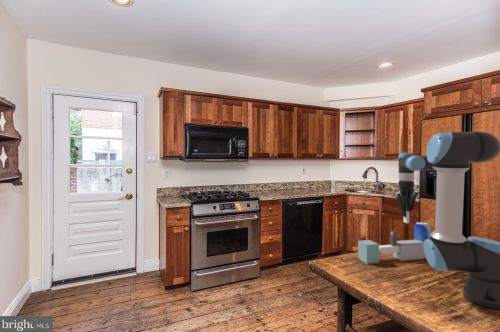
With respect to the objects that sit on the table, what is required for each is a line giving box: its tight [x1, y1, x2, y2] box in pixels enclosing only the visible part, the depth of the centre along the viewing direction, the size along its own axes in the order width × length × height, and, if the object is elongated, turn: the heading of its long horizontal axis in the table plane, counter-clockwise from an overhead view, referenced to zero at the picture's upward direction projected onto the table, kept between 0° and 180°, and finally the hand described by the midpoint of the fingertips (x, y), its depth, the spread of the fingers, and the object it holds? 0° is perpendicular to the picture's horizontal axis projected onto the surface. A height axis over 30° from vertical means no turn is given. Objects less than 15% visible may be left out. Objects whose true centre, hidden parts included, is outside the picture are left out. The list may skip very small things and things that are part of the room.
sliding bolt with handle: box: [379, 230, 400, 255], centre depth 151 cm, size 4×24×11 cm, turn 100°
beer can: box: [413, 221, 432, 242], centre depth 166 cm, size 8×8×16 cm
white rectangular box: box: [392, 239, 426, 261], centre depth 152 cm, size 7×15×9 cm, turn 100°
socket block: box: [357, 239, 380, 265], centre depth 148 cm, size 8×7×10 cm
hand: (406, 222), depth 152 cm, fingers closed
